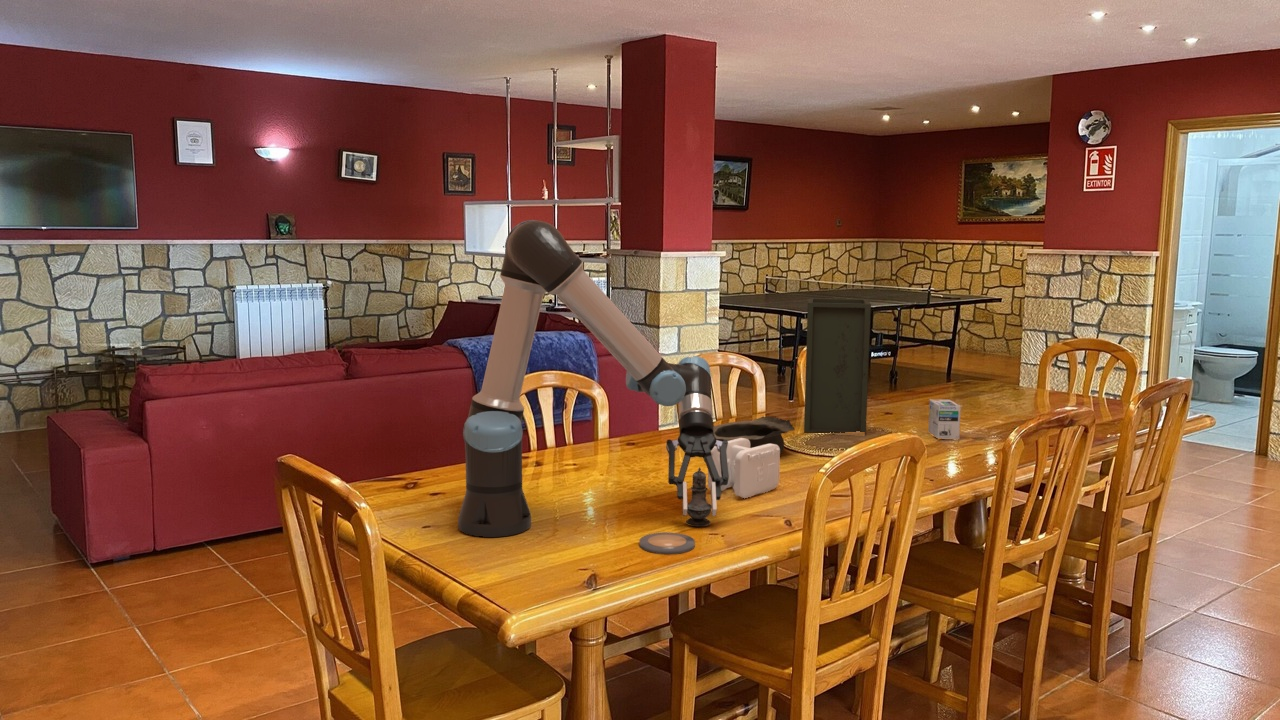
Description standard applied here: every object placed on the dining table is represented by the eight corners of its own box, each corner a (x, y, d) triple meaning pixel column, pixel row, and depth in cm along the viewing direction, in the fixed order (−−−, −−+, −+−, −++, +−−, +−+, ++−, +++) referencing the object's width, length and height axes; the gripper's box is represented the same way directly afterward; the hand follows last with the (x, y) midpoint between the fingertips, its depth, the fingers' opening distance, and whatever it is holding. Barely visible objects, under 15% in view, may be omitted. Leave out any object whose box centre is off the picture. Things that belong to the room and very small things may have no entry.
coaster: (629, 541, 195) (629, 537, 194) (675, 533, 200) (675, 528, 200) (658, 557, 185) (658, 553, 185) (705, 548, 191) (705, 544, 191)
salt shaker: (680, 524, 204) (681, 469, 203) (689, 517, 210) (690, 462, 208) (707, 528, 202) (709, 472, 201) (715, 520, 208) (716, 465, 206)
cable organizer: (746, 481, 241) (747, 435, 239) (781, 490, 233) (782, 442, 232) (706, 493, 230) (707, 445, 229) (741, 502, 223) (742, 452, 221)
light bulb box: (959, 441, 288) (961, 405, 286) (937, 440, 288) (938, 405, 287) (949, 433, 299) (950, 398, 297) (927, 433, 299) (928, 398, 297)
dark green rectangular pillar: (804, 421, 314) (808, 298, 309) (862, 424, 311) (867, 299, 306) (803, 433, 296) (807, 303, 291) (865, 436, 293) (870, 304, 288)
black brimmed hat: (811, 454, 269) (811, 422, 267) (742, 473, 255) (741, 439, 254) (753, 436, 289) (752, 406, 287) (686, 453, 276) (684, 422, 274)
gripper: (735, 428, 219) (742, 521, 205) (654, 427, 219) (654, 520, 205) (739, 410, 213) (745, 504, 199) (655, 409, 213) (656, 503, 199)
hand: (699, 512), depth 202 cm, fingers closed on salt shaker, 5 cm apart
